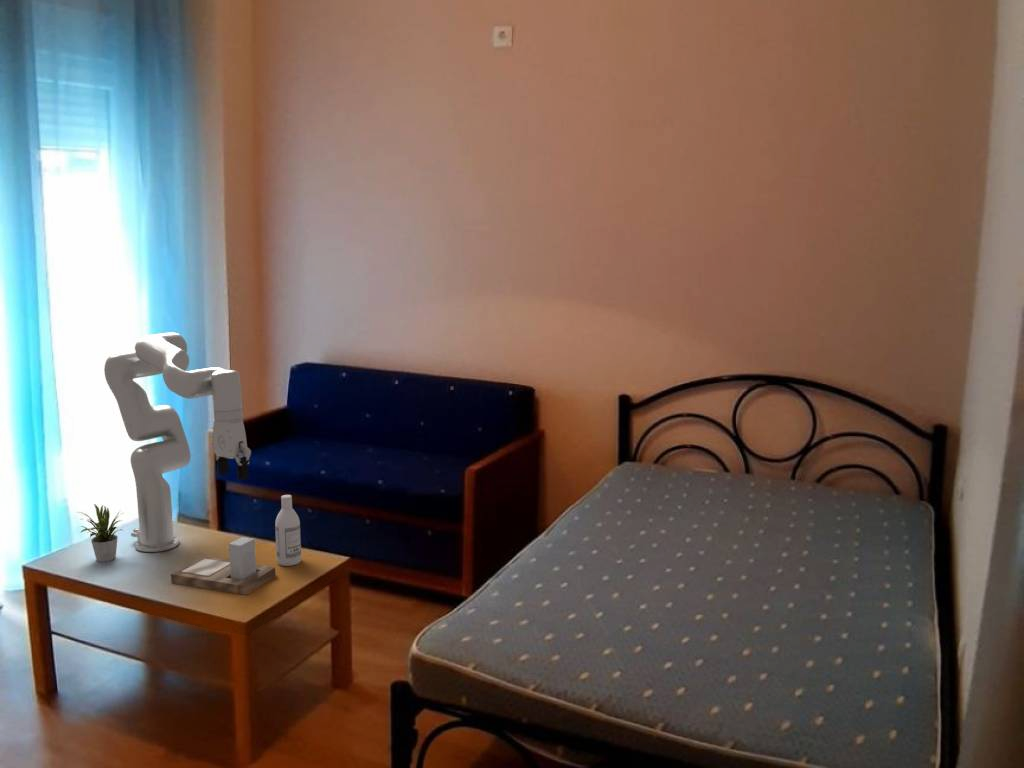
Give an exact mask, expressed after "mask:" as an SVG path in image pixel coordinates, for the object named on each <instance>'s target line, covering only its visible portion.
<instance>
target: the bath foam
mask: <svg viewBox="0 0 1024 768" xmlns="http://www.w3.org/2000/svg"><path fill="white" fill-rule="evenodd" d="M292 496H293V495H291V494H284V495H281V496H280V498H281V499H280V500H281V501H280V502H281V508H280V511H279V512H278V513H277V515H276V518H275V522H274V523H275V525H274V529H275V548H276V549H275V550H276V551H275V552H276V563H277V565H279V566H284V567H292V566H296V565H298V564H300V563H301V561H302V544H301V543H302V541H301V540H302V539H301V521H300V517H299V515H298V514H297V512H296V511H295V509H294V508H293V497H292Z"/></svg>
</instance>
